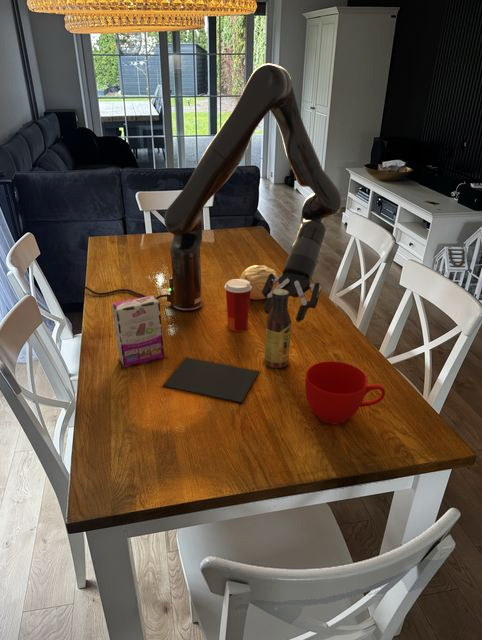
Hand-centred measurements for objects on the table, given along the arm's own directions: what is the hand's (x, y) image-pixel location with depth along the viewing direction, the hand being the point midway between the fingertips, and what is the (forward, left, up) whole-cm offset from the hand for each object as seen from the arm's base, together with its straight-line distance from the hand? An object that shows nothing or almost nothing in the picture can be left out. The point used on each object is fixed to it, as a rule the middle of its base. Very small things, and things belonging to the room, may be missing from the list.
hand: (282, 317), depth 122 cm
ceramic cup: (+19, -19, -13) cm, 29 cm away
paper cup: (-16, +14, -13) cm, 25 cm away
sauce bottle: (0, -2, -13) cm, 13 cm away
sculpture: (-17, +38, -13) cm, 44 cm away
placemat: (-13, -15, -13) cm, 23 cm away
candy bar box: (-34, -12, -13) cm, 38 cm away
